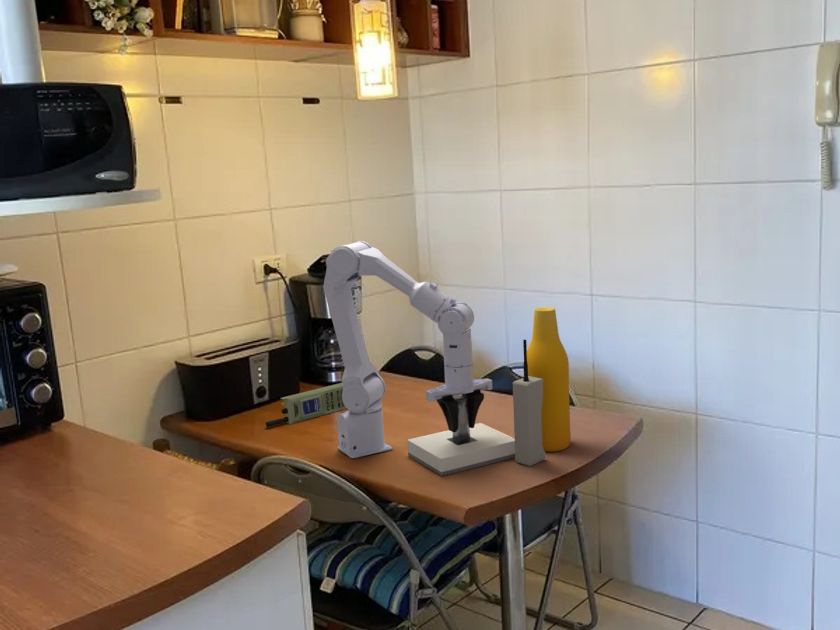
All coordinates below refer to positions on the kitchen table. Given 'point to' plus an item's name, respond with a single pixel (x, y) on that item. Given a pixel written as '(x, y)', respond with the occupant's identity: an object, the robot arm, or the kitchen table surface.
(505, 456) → the grey hole plate
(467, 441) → the steel pin
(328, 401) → the handheld radio
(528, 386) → the vintage mobile phone
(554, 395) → the beer bottle
